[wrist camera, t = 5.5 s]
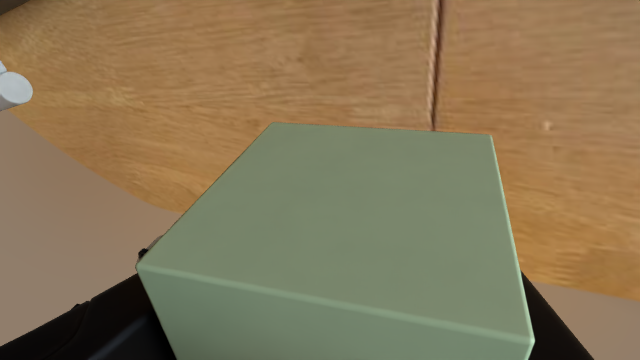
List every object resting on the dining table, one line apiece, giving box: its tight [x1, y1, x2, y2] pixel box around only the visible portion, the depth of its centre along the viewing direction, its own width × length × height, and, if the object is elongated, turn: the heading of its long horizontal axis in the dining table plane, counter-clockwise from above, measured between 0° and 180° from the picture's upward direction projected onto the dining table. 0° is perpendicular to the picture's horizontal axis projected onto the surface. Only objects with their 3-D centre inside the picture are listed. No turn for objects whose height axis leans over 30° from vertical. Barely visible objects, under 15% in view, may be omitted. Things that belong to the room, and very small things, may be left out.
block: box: [135, 122, 535, 360], centre depth 7 cm, size 4×4×4 cm
